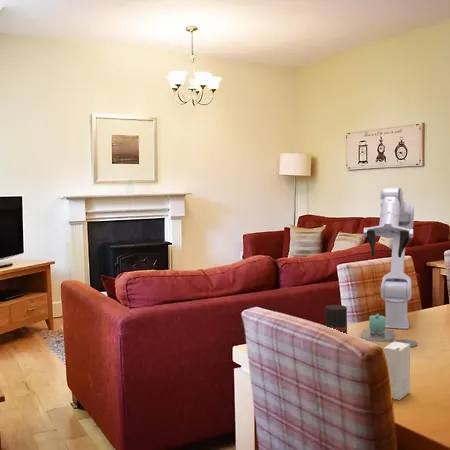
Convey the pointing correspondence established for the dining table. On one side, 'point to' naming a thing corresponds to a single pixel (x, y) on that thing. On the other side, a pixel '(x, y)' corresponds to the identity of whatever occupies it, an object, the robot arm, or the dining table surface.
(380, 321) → the cap
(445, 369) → the dining table surface
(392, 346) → the skincare box
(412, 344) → the coaster
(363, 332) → the post plinth
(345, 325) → the deodorant
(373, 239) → the robot arm
